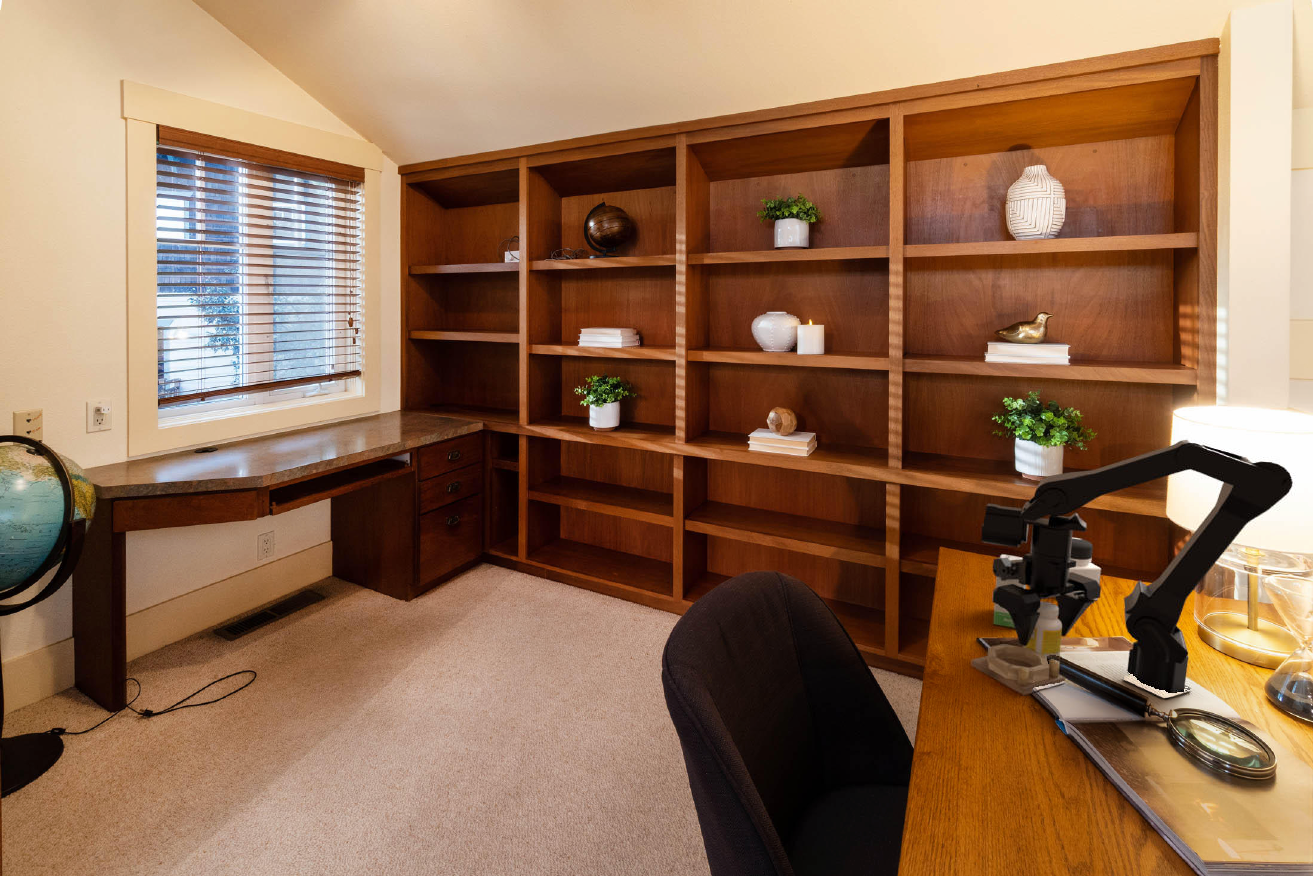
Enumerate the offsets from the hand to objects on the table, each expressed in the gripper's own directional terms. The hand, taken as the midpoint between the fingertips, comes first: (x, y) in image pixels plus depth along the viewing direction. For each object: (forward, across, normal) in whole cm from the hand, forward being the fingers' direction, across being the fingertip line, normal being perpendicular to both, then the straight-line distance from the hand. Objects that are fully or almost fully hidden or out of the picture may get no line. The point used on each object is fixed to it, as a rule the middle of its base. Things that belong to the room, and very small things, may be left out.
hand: (1042, 640), depth 112 cm
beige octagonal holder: (+4, +8, +2) cm, 9 cm away
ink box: (+4, -9, -14) cm, 17 cm away
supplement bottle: (+4, 0, 0) cm, 4 cm away
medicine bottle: (+4, -32, -18) cm, 37 cm away
